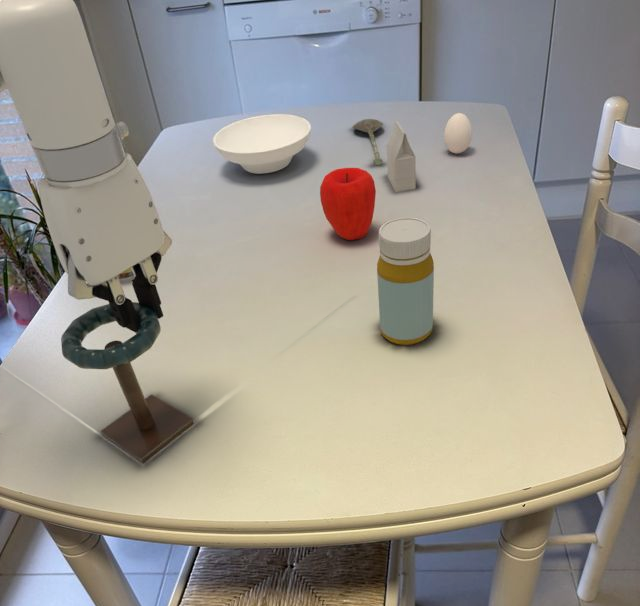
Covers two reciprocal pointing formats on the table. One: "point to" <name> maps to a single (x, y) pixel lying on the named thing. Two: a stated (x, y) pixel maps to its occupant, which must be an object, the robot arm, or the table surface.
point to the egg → (458, 133)
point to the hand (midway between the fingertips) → (142, 320)
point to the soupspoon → (370, 134)
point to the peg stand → (143, 418)
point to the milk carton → (400, 161)
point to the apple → (348, 201)
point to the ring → (114, 354)
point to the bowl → (263, 141)
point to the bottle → (405, 280)
